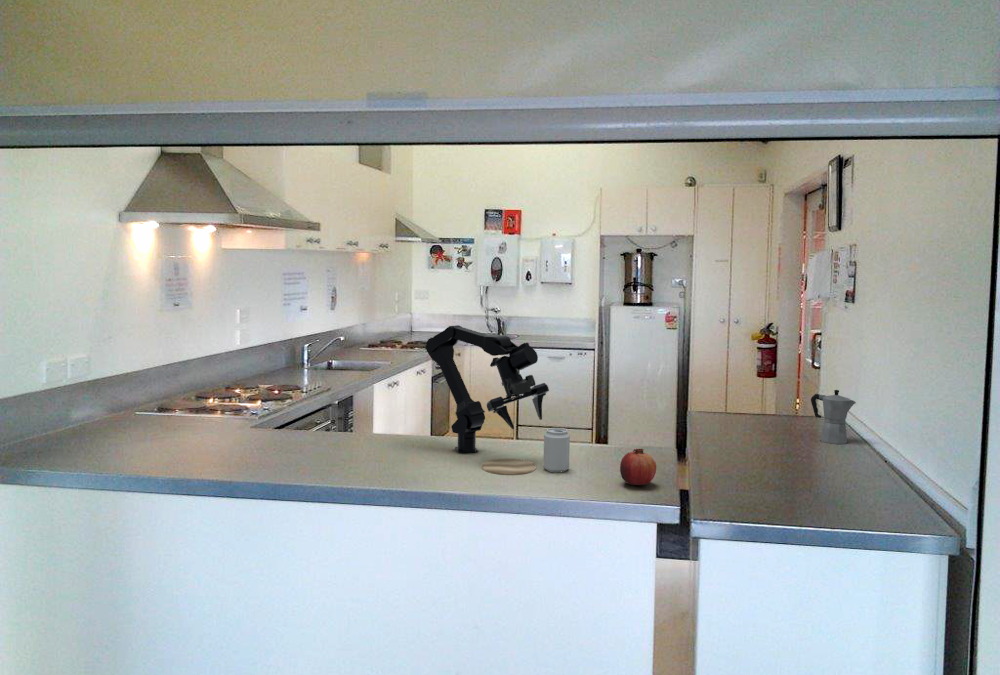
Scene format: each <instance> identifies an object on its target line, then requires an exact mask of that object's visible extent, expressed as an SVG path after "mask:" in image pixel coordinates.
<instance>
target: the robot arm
mask: <svg viewBox="0 0 1000 675" xmlns="http://www.w3.org/2000/svg"><path fill="white" fill-rule="evenodd" d="M459 341H460V342H463V343H466V344H469V345H473V346H475V347H478V348H480V349H482V350H483V351H484V353H487V354H488V355H490V356H492V360H491V363H490V365H489V366H490V367H492V368H493V367H496V368H497V371H498V374H499V376H500V380H501V386H503V389H504V391H505V394H506V395H505V397H502V396H498V397H495V398H492V399H490V400H489V401H487V402H486V409H487V411H488V412H493V414H497V415H499V417H500V418H502V420H504V421H505V423H506V424H507V425H508V427H510V428H511V429H512V430H514V429H515V425H514V423H513V420H512V419H511V416H510V414H509V411H508V407H507V405H508V404H509V403H514V402H516V401H519V400H522V399H523V400H524V399H526V398H529V397H533V398H532V399H531V400H532V404H533V406H534V409H535V412H536V414H537V417H538V419H539V421H542V420H543V400H544V397H545V396H547V393H548V392H549V391H550V389H549V386H548V385H547V383H545V382H542V383H540V384H537V385H536V380H535V378H534V376H533V374H528V375H526V376H525V378H523V376H522V374H520V372H519V371H522V370H524V369H526V368H529V367H530V366H532V365H535V364H537V362H538V358H539V356H538V353H537V351H536V350H535V348H533V347H532V346H530V343H529V342H522V343H521V344H520V345H519V346H518V345H517V344H515V343H514V341H513V342H512V340H511V338H510V337H509V336H508V335H501V334H499V335H498V334H486V333H483V332H479V331H476V330H473V329H469V328H466V327H464V326H461V325H460V324H459V325H458V324H457V325H448V327H447V328H445V329H444V330H442V331H441V332H438V333H437V334H436V335H434V336H433V337H429V338H428V339H427V341H426V343H425V350H426V353H427V354H428V355H429V357H430V359H431V360H432V361H433V362H434V363H436V364H437V365H438V366H439V368H440V370H441V373H442V374H443V376H444V379H445V381H446V384H447V386H448V387H449V388H448V389H449V390H450V393H451V395H452V397H453V399H454V401H455V404H456V411H455V415H456V420H455V421H454V423H453V424H451V426H450V427H451V431H452V433H454V434H456V435H457V446H455V447H454V450H455V451H456V452H457V453H458V454H467V453H478V452H479V449H478V448H477V447H476V441H477V440H476V439H477V438H476V437H477V436H476V434H477V433H476V432H479V431H481V430H482V429H483V428H482V427H483V425H484V423H485V420H486V416H485V415H486V414H485V413H486V411H485V409H484V408H483V407H482V403H481V402H480V401H479V400H477V401H476V400H475V401H474V400H473V399H472V398H471V395H470V393H469V391H468V389H467V386H466V384H465V383H464V380H463V378H462V376H461V373H460V372H459V369H458V366H457V364H456V362H455V360H454V358H455V356H454V355H455V350H454V346H456V344H458V342H459ZM507 355H508V356H507ZM497 356H500V357H497ZM506 404H507V405H506Z"/></svg>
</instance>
